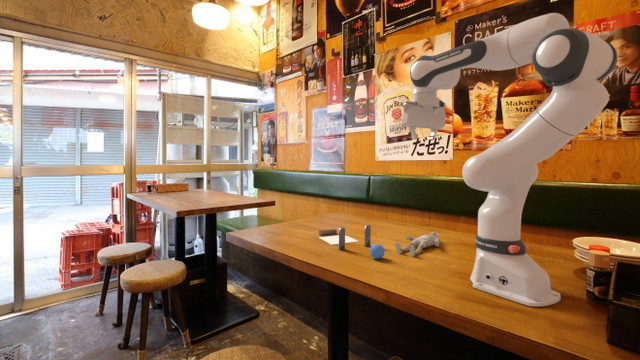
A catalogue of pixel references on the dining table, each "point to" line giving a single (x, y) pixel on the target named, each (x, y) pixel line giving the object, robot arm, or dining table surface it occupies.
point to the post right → (367, 236)
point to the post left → (341, 238)
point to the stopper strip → (327, 232)
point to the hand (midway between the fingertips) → (423, 139)
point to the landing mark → (337, 239)
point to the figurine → (419, 243)
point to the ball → (377, 251)
